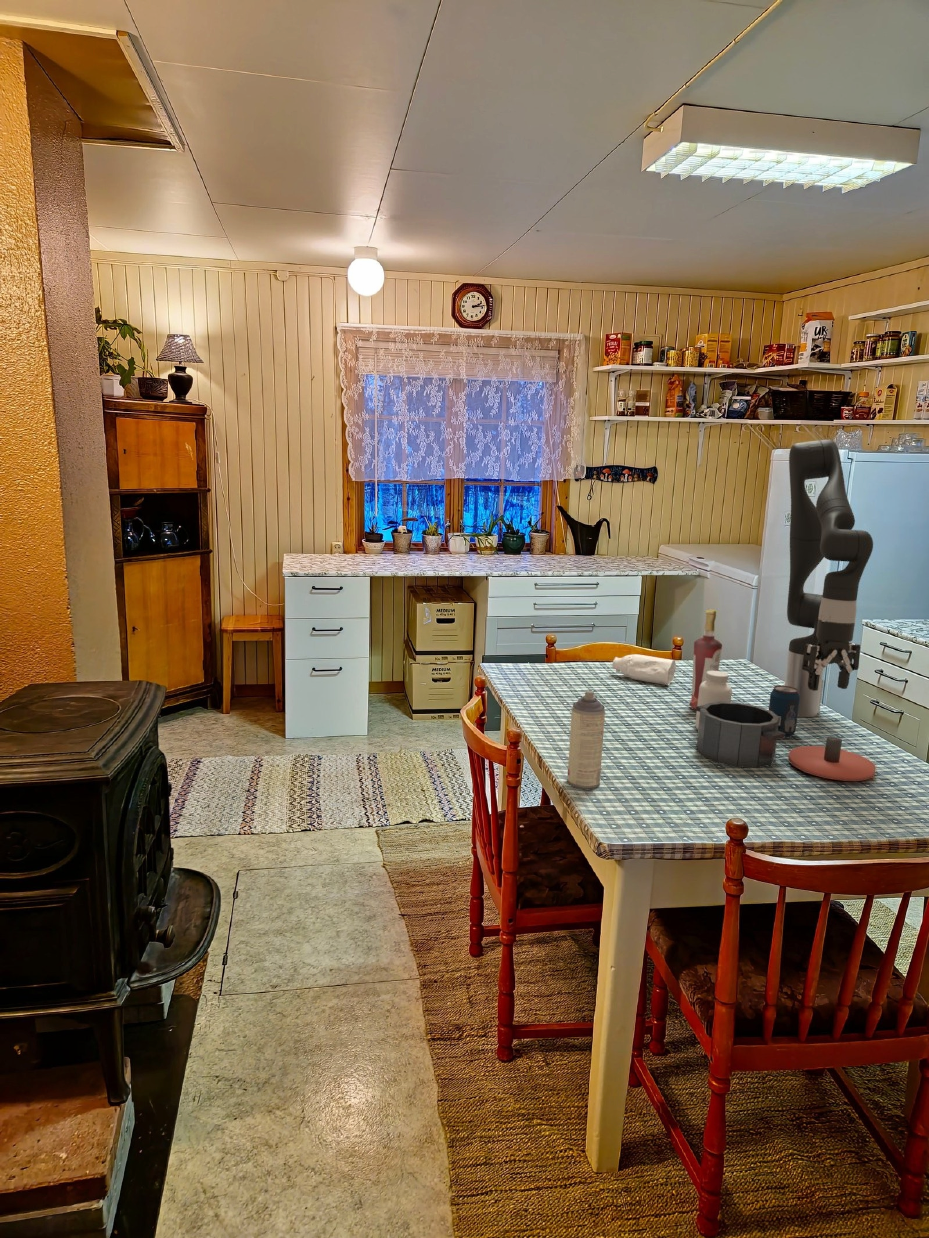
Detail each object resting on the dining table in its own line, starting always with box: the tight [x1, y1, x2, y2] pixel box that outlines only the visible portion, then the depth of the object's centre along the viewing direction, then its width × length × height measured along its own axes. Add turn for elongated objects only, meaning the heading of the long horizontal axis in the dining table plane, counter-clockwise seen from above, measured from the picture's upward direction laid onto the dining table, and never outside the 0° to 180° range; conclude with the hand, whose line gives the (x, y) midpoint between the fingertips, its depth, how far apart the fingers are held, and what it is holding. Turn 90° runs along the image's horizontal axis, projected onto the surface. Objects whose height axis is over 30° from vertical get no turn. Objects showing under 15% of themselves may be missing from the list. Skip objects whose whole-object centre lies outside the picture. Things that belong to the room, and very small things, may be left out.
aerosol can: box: [566, 690, 606, 790], centre depth 168 cm, size 7×7×20 cm
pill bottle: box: [694, 670, 733, 730], centre depth 205 cm, size 8×8×15 cm
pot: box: [695, 701, 786, 769], centre depth 189 cm, size 17×23×10 cm
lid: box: [788, 736, 877, 782], centre depth 182 cm, size 18×18×7 cm
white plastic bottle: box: [611, 653, 677, 687], centre depth 250 cm, size 8×19×8 cm, turn 58°
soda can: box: [768, 685, 800, 739], centre depth 204 cm, size 7×7×12 cm
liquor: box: [689, 609, 723, 712], centre depth 220 cm, size 7×7×28 cm
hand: (827, 689), depth 184 cm, fingers open, 8 cm apart
